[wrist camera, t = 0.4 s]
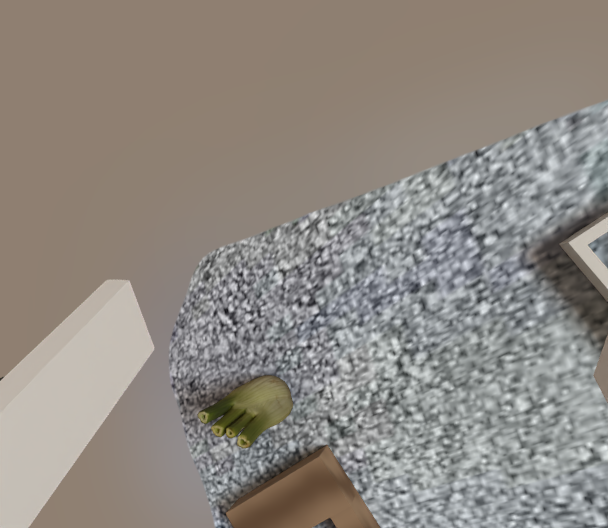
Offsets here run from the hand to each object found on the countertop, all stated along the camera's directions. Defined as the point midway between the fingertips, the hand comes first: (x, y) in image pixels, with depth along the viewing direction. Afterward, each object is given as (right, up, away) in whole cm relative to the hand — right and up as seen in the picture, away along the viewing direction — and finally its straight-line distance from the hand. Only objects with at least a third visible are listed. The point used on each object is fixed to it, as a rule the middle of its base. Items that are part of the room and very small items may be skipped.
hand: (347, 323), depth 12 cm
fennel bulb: (-5, -13, +38) cm, 41 cm away
